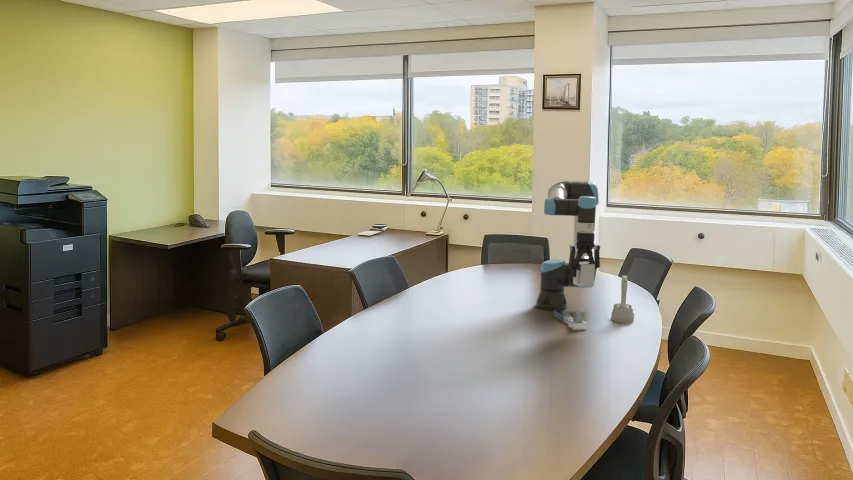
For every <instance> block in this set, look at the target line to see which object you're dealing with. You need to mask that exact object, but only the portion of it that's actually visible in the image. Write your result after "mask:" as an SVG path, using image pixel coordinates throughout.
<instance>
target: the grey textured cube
mask: <svg viewBox="0 0 853 480" xmlns="http://www.w3.org/2000/svg"><path fill="white" fill-rule="evenodd" d="M577 270H579V273H578V285H577V286H579V287H588V286H593V287H595V282H594V274H595V264H593V263H590V262H579V265H578V268H577ZM573 284H574V277H573ZM579 287H578V288H579Z"/></svg>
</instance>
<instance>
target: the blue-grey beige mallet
mask: <svg viewBox="0 0 853 480" xmlns="http://www.w3.org/2000/svg"><path fill="white" fill-rule="evenodd" d="M572 314H573V316H572V315H571V314H570V313H568V312H566V311H564V309H563V310H553V317H555V318H556V319H558V320H559V321H560V322H563V323H565V324H566V325H567V327H568V328H569V329H571V330H573V331H583V330H587V329H588V322H587V321H585V320H584V319H583V317H584V311H582V310H573V313H572Z"/></svg>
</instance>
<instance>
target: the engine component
mask: <svg viewBox="0 0 853 480" xmlns="http://www.w3.org/2000/svg"><path fill="white" fill-rule="evenodd" d="M620 283H621V285H620V286H621V287H620V289H621V294H620V295H621V296H620V299H621V300H620V303H614V304H613V309H612V311H611V314H610V315H611V317H610V319H611V320H612V321H614V322H617V323H625V324H626V323H633V322H634V321H635V313H634V311H633V310H634V309H633V308H632V305H631V304H630V303H629V304H628V303H627V292H628V276H627V275H622V276H621V281H620Z"/></svg>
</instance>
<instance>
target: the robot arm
mask: <svg viewBox="0 0 853 480" xmlns="http://www.w3.org/2000/svg"><path fill="white" fill-rule="evenodd" d="M599 199H600V198H599V190H598V185H597V183H596V182H594V181H588V180H586V181H580V180H579V181H578V180H577V181H576V180H575V181H573V180H571V181H570V180H564V181H559V182H557V183H555V184H553V185H551V187H549V189H548V191H547V198H545V199H544V203H543V204H544V205H543V206H544V207H543V212H544V215H546V216H565V217H566V216H567V217H569V216H570V217H574V219H573V220H574V221H573V222H574V223H573V245H569V259H568V262H566V260H565V259H560V258H559V259H549V260H545V261H543V262H542V263H541V264H540V265H541V267H540V285H539V286H540V287H539V288H540V289H539V293H538V296H537V298H536V301H535V306H536V308H538V309H541V310H546V311H554V310H563V311H564V310H566V309H567V308H568V301H567V299H566V294H565V288H579V289H581V288H582V289H589V288H590V289H591V288H592V287H594V286H588V287H579V286H577V285H578V273H579V270H577V268H578V265H579V262H590V263H593V264H595V274H594V283H596V282H595V280H596V276H597V269H600V268H601V261H600V259H601V258H600V250H601V246H600V245H599V244H595V234H596V233H595V231H596V229H595V228H596V212H597V206H598V205H599ZM593 251H594V252H593ZM573 277H574V284H573Z"/></svg>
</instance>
